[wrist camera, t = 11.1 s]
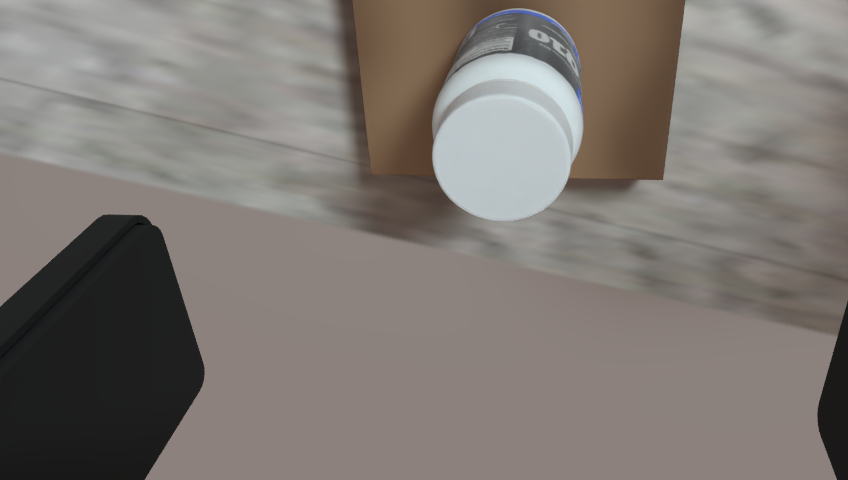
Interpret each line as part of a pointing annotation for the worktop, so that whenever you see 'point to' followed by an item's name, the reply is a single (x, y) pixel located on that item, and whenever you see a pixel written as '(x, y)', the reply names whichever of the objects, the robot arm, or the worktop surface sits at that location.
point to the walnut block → (600, 77)
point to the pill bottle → (509, 116)
